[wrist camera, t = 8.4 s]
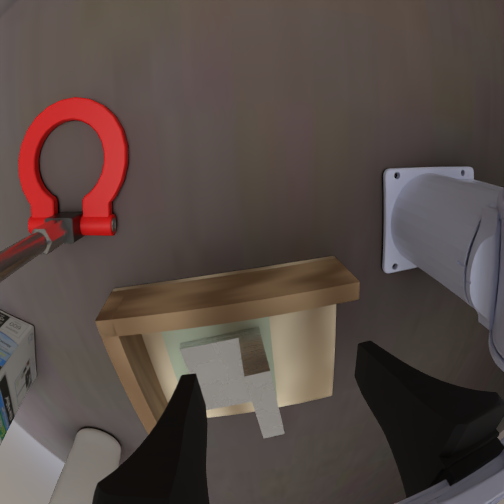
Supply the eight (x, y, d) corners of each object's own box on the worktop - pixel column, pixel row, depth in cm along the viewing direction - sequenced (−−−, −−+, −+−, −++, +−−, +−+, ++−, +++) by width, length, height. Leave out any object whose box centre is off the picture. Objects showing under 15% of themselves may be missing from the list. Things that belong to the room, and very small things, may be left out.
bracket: (273, 390, 25) (284, 433, 20) (205, 403, 25) (207, 448, 20) (258, 326, 23) (270, 370, 18) (180, 343, 22) (175, 388, 18)
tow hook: (29, 107, 16) (29, 232, 19) (-103, 89, 4) (-91, 306, 6) (134, 95, 17) (130, 233, 20) (37, 22, 5) (40, 336, 8)
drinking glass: (127, 430, 26) (109, 558, 12) (129, 461, 28) (117, 569, 14) (67, 414, 25) (30, 532, 11) (75, 447, 27) (51, 549, 13)
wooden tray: (336, 258, 22) (359, 281, 18) (332, 395, 27) (345, 425, 23) (111, 291, 20) (94, 321, 17) (163, 421, 25) (160, 453, 22)
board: (333, 255, 22) (336, 258, 22) (330, 392, 27) (332, 396, 26) (113, 288, 21) (111, 292, 20) (163, 417, 26) (163, 421, 25)
